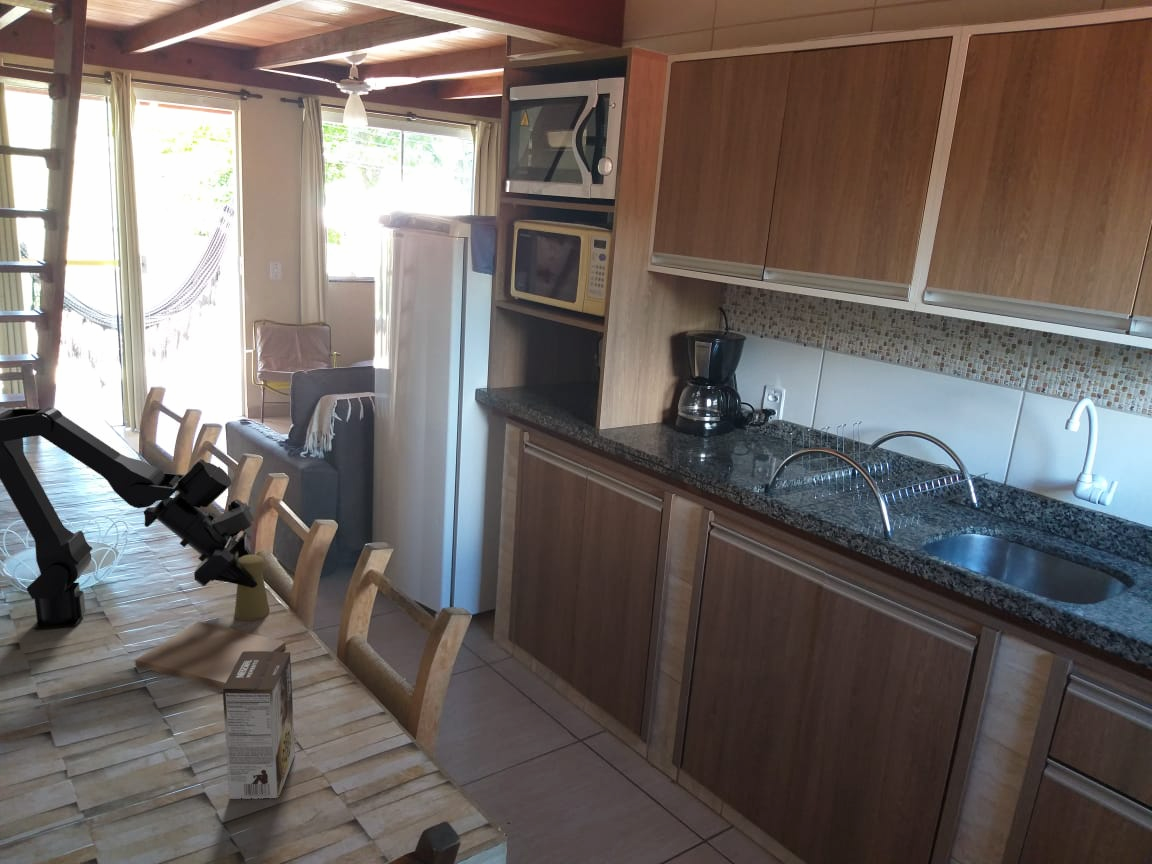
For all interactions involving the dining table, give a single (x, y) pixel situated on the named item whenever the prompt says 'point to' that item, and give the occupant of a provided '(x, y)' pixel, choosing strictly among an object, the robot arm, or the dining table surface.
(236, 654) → the walnut board
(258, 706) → the coffee box
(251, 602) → the cork
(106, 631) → the dining table surface
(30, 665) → the dining table surface
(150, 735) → the dining table surface
